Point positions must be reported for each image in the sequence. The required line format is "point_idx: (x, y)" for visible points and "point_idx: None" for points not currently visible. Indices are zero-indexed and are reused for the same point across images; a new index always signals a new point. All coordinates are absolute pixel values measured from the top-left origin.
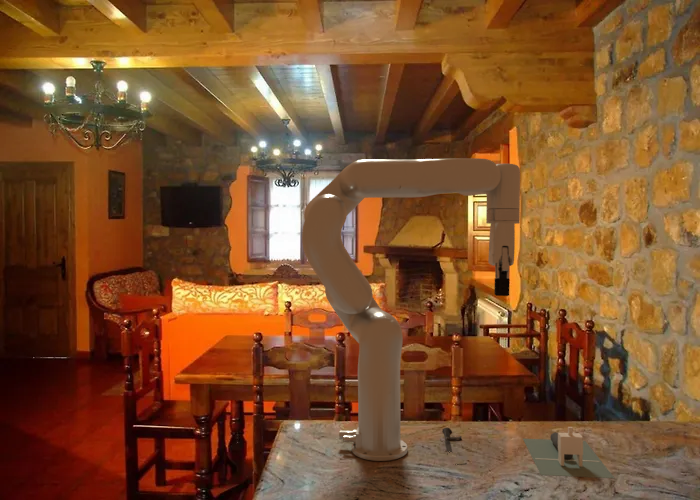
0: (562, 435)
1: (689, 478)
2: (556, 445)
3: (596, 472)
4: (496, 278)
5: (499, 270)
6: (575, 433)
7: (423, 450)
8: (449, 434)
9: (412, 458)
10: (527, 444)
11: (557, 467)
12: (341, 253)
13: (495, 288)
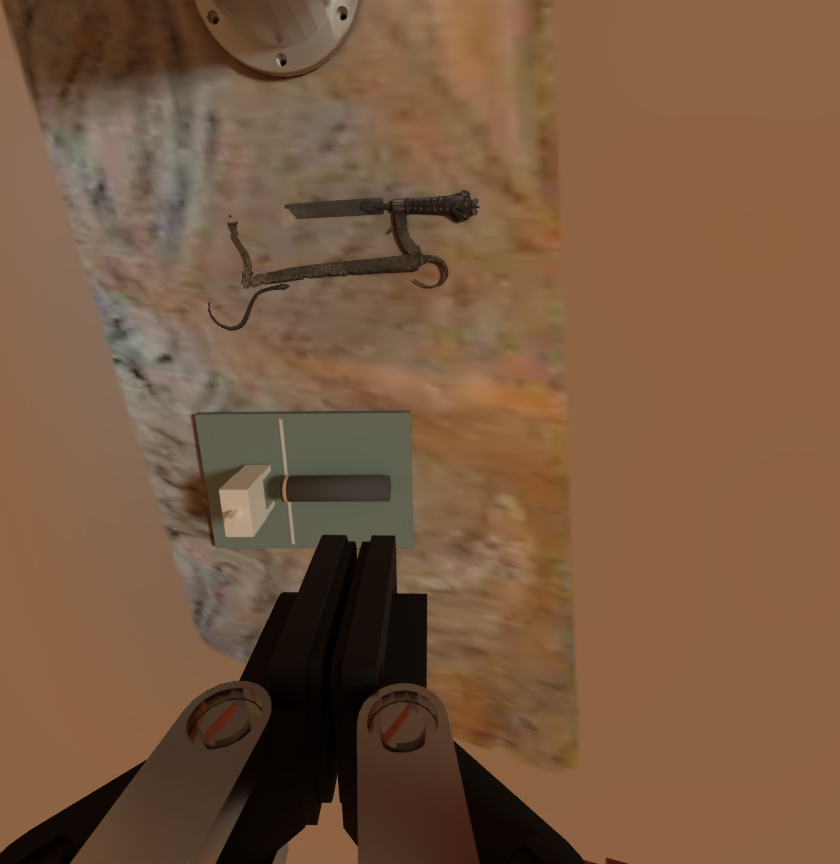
0: (228, 495)
1: None
2: (327, 478)
3: None
4: (342, 686)
5: (9, 857)
6: (250, 527)
7: (308, 130)
8: (433, 213)
9: (244, 97)
10: (370, 417)
11: (242, 456)
12: None
13: (308, 575)
